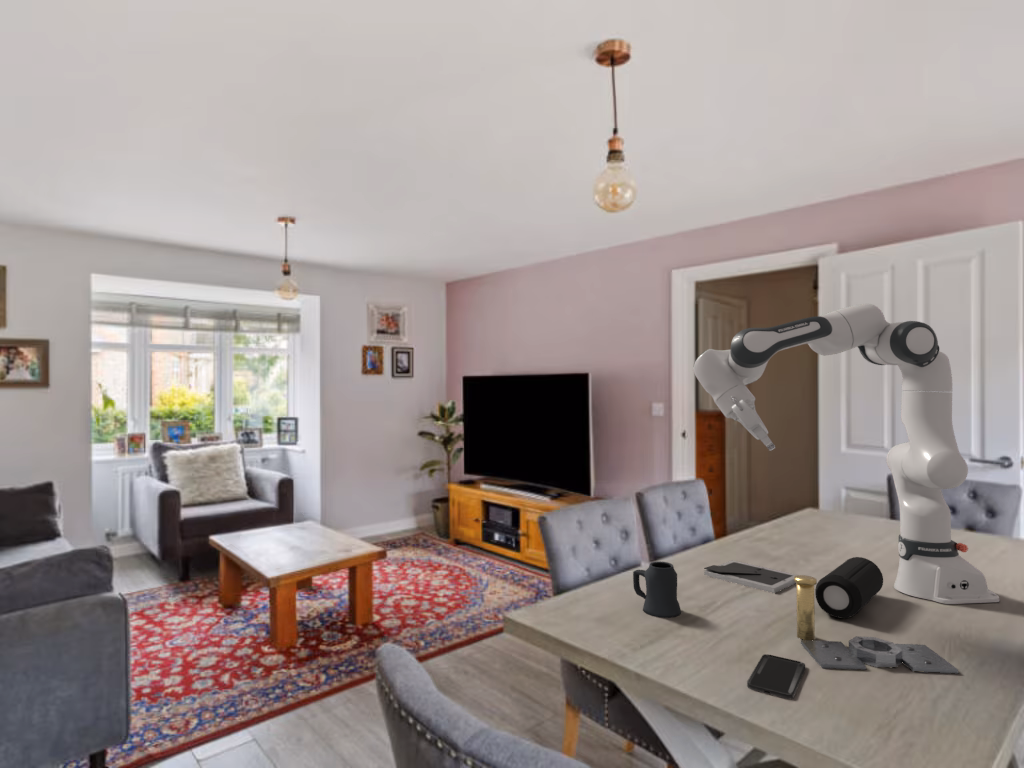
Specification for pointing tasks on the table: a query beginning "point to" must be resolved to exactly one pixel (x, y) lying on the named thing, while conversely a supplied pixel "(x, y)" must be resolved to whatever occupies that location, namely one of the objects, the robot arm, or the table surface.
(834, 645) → the hinge body
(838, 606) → the portable speaker
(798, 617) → the pin
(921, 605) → the table surface
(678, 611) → the mug
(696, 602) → the table surface
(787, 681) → the phone
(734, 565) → the picture frame
